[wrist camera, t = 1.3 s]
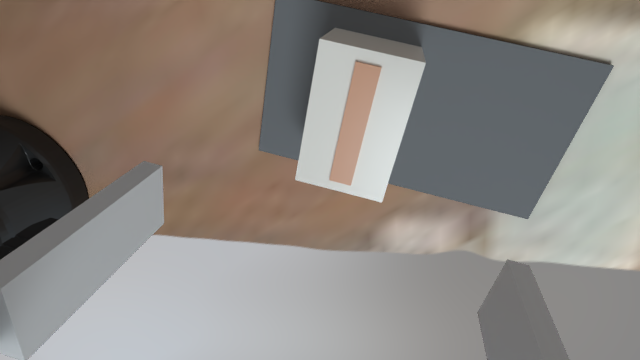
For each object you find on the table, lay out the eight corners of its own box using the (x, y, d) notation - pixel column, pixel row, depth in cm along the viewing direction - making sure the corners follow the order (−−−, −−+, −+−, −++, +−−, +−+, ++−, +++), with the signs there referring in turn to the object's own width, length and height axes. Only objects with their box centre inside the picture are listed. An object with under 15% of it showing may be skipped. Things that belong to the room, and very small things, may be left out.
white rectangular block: (385, 166, 32) (381, 203, 27) (312, 148, 33) (294, 181, 28) (421, 47, 27) (426, 63, 22) (335, 27, 28) (318, 39, 23)
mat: (260, 148, 34) (258, 150, 34) (278, -9, 28) (276, -9, 28) (526, 216, 32) (527, 219, 32) (610, 64, 26) (613, 65, 26)
